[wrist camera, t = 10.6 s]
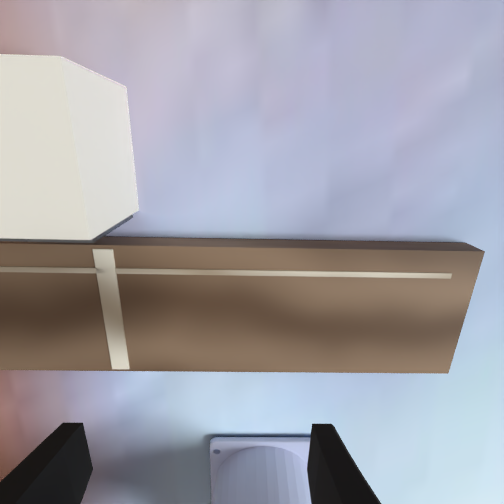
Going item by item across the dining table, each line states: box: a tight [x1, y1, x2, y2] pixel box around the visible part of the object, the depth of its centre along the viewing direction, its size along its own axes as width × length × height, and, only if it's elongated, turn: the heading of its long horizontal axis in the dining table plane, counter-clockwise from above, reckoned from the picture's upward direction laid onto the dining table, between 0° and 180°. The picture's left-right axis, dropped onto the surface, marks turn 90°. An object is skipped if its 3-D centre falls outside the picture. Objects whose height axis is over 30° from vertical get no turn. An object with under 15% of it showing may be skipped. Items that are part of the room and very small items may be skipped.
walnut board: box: [0, 236, 485, 373], centre depth 18 cm, size 8×30×2 cm, turn 89°
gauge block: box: [0, 54, 139, 243], centre depth 13 cm, size 6×5×6 cm
